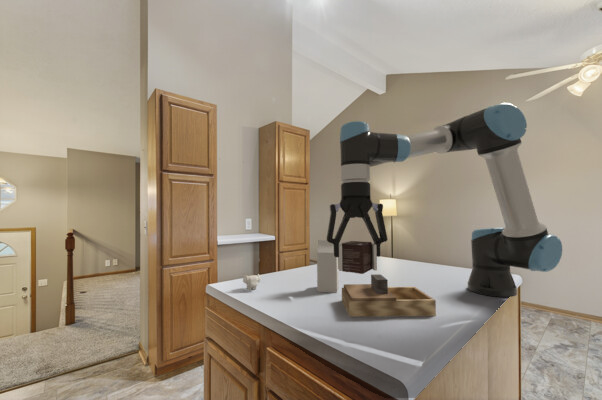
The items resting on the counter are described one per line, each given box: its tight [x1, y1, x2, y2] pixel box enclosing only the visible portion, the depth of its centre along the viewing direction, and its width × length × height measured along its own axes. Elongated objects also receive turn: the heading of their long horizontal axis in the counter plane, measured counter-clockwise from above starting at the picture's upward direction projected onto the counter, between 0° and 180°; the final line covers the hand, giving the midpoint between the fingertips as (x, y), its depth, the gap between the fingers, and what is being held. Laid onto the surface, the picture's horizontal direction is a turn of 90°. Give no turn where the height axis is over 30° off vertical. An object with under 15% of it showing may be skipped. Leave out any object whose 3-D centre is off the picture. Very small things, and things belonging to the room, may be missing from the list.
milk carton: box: [316, 239, 339, 293], centre depth 107 cm, size 7×7×19 cm
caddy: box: [341, 286, 437, 318], centre depth 87 cm, size 24×14×5 cm, turn 91°
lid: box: [343, 274, 396, 301], centre depth 87 cm, size 12×15×5 cm
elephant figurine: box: [242, 273, 261, 291], centre depth 111 cm, size 7×8×6 cm
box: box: [341, 240, 373, 275], centre depth 75 cm, size 6×6×7 cm
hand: (357, 269), depth 75 cm, fingers closed on box, 8 cm apart
